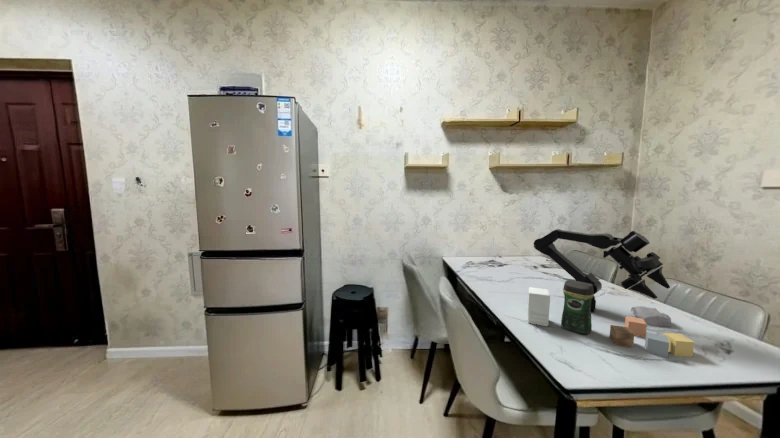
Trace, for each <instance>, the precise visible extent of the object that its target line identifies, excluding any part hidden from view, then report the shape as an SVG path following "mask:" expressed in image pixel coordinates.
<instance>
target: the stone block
mask: <svg viewBox="0 0 780 438" xmlns="http://www.w3.org/2000/svg"><path fill="white" fill-rule="evenodd" d="M630 311H631V312H632V314H633V315H634V316H635V317H636V318H642V319H643V320H644V321H645V323H646V324H647V326H655V327H669V326H670V327H671V325H672V318H671V316H669V315H668V314H666V313H664V312H661V311H659V310H658V309H657V308H656V307H647V306H644V305H643V306H641V305H640V306H639V305H637V306H632V307H631V308H630Z"/></svg>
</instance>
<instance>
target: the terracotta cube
mask: <svg viewBox="0 0 780 438" xmlns="http://www.w3.org/2000/svg"><path fill="white" fill-rule="evenodd" d="M647 326H648V325H647V324H646V323H645V321H644V320H643V319H642V318H636V317H634V316H630V315H626V316H625V319H624V327H628V328H629V329H630V330H631V331H632V332H633V333H634V336H637V337H640V338H641V337H642V338H646V332H647Z"/></svg>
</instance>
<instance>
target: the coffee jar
mask: <svg viewBox="0 0 780 438" xmlns="http://www.w3.org/2000/svg"><path fill="white" fill-rule="evenodd" d="M562 291H563V296H564V297H563V298H564V301H563V309H562V313H561V318H560V319H561V320H560V326H561V327H562V328H563V329H565V330H567V331H570V332H573V333H577V334H581V335H582V334H583V335H588V334H589V333H591V332H592V325H593V324H592V312H591V300H592V298H593V296H594V297H595V294H594V288H593V284H590V283H585V282H580V281H576V280H575V279H567V280H565V282H564V284H563V288H562Z"/></svg>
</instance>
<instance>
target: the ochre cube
mask: <svg viewBox="0 0 780 438" xmlns="http://www.w3.org/2000/svg"><path fill="white" fill-rule="evenodd" d="M663 336H667V338H668V341H669V350H668V353H670V354H671V355H674V356H675V357H676V356H679V357H690V358H691V357H693V354H694V347H695V341H693V340H692V339H690V338H688V337H687V336H685V335H683V334H682V333H672V332H671V333H669V332H663Z"/></svg>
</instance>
